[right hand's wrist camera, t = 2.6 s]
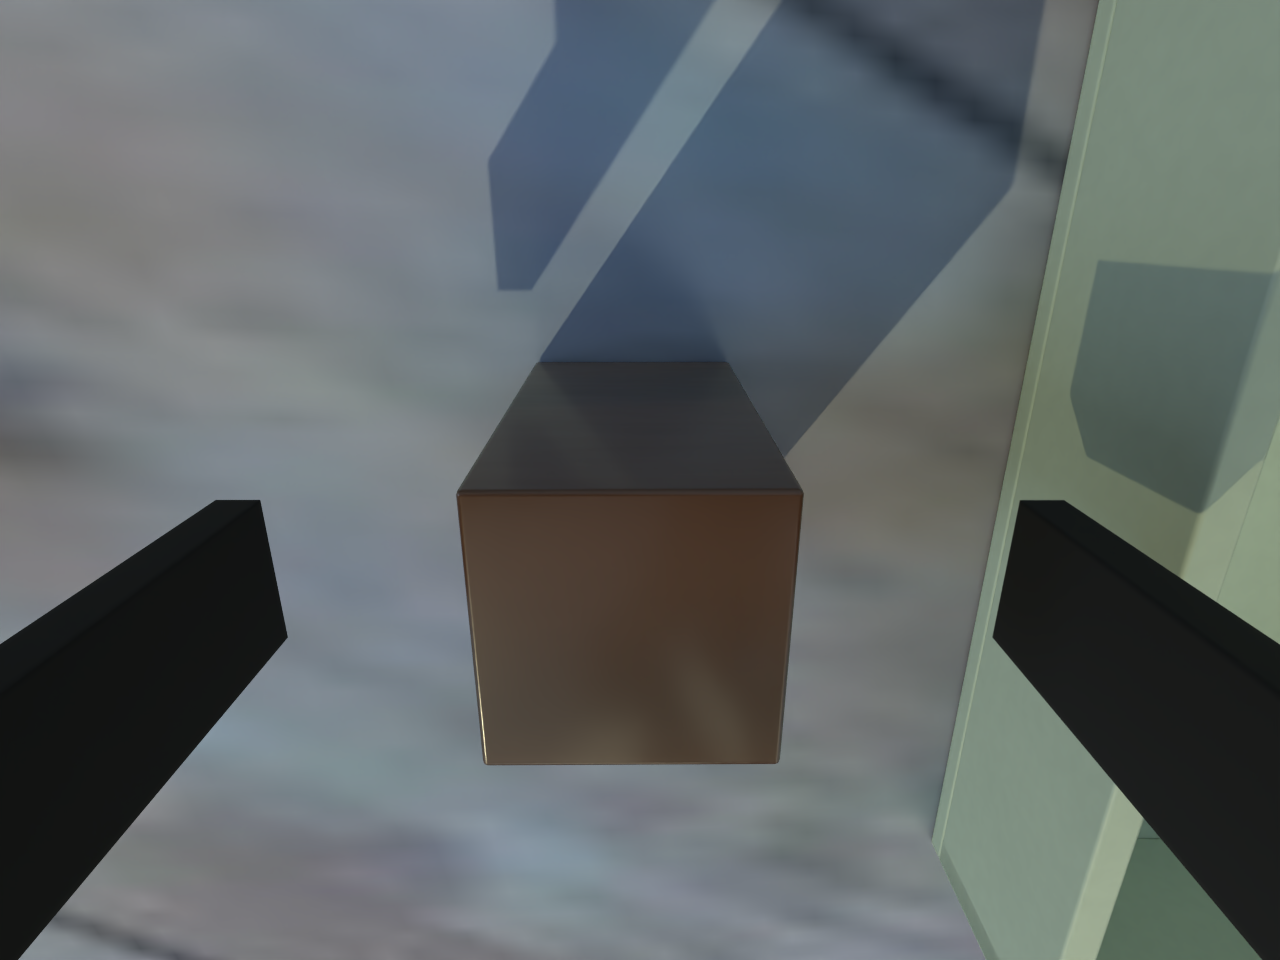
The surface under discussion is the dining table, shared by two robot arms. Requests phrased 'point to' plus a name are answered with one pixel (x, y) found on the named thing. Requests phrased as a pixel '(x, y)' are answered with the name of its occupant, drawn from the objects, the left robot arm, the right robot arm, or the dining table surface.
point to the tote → (1133, 464)
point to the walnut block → (630, 570)
